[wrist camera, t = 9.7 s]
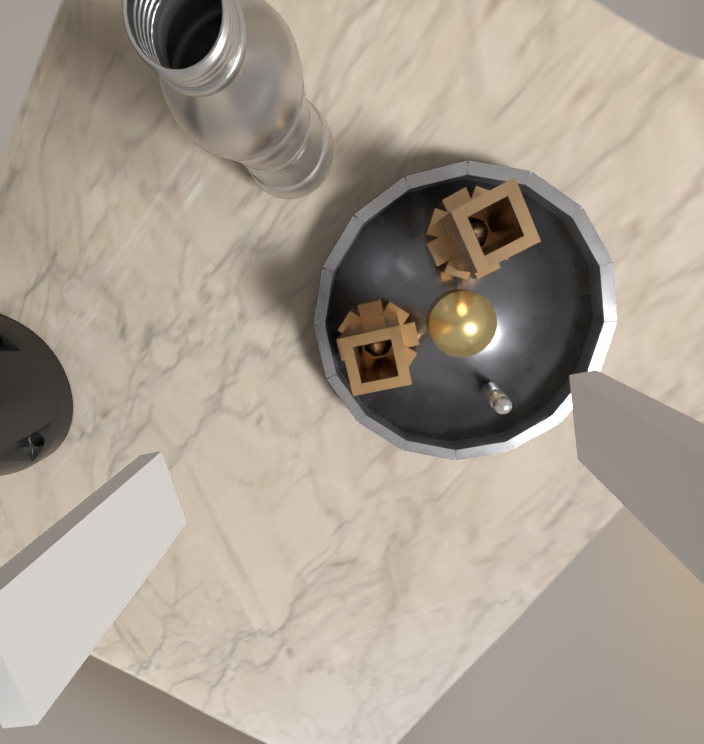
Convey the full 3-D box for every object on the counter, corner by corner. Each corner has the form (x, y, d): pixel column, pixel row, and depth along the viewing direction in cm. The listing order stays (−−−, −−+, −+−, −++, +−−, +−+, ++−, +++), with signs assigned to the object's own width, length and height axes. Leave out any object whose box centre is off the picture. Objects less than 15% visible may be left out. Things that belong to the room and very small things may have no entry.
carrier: (350, 464, 39) (345, 498, 34) (288, 208, 34) (270, 198, 28) (609, 420, 37) (651, 450, 31) (585, 134, 31) (630, 105, 26)
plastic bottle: (243, 182, 34) (57, 76, 15) (274, 94, 32) (110, -158, 13) (316, 217, 34) (228, 158, 15) (351, 132, 32) (303, -61, 13)
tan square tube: (445, 291, 34) (467, 301, 25) (411, 218, 33) (422, 202, 24) (520, 253, 33) (569, 250, 24) (487, 177, 31) (527, 144, 23)
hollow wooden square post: (350, 379, 36) (339, 416, 27) (332, 308, 35) (315, 324, 26) (422, 365, 35) (434, 398, 27) (407, 291, 34) (415, 301, 25)
